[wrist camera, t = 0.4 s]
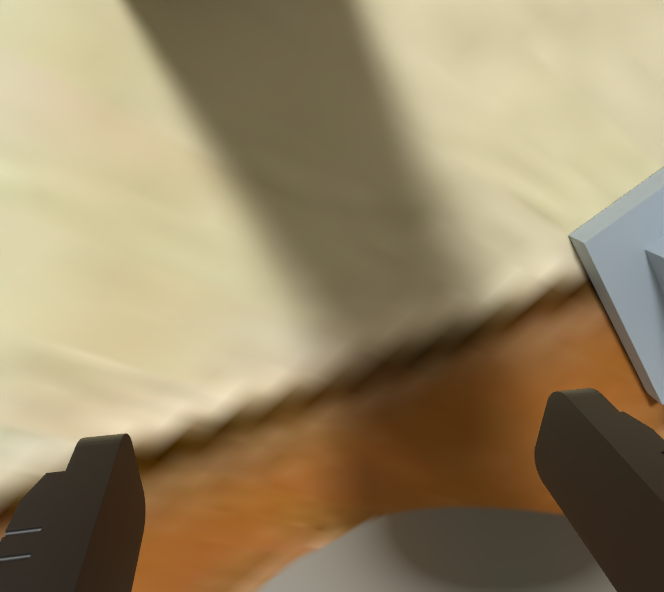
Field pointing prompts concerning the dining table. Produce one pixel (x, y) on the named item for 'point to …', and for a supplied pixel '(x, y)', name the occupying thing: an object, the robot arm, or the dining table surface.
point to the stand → (631, 274)
